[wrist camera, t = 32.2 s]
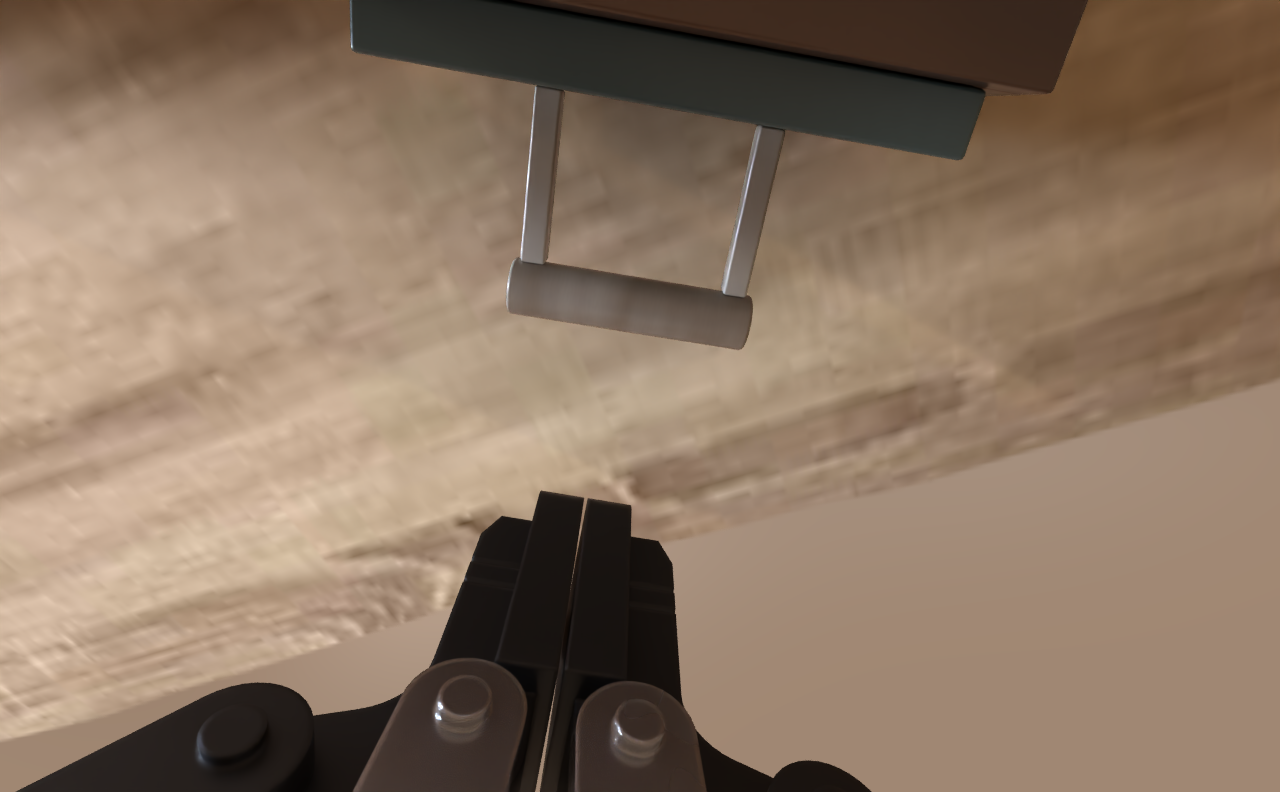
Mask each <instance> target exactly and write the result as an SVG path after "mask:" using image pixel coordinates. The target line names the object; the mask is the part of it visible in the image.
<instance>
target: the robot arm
mask: <svg viewBox="0 0 1280 792" xmlns="http://www.w3.org/2000/svg"><path fill="white" fill-rule="evenodd" d="M583 502H584V498H583V497H577V496H571V495H565V494H558V493H552V492H546V491H540V494H539V498H538V501H537V505H536V509H535V512H534V516H533V520H532V521H530V520H524V519H517V518H511V517H505V516H501V517H500V518H499V519H498V520H497V521H495V522H494V523H493V524H492V525H491V526H490V527H488V528H487V529H486V530H485V531H484V532H483V533H481V536H480V538H479V541H478V543H477V546H476V549H475V551H474V554H473V557H472V561H471V562H470V564H469V567H468V570H467V572H466V575H465V579H464V582H463V583H462V585H461V588H460V591H459V593H458V596H457V599H456V601H455V604H454V606H453V609H452V612H451V614H450V617H449V620H448V622H447V625H446V628H445V630H444V633H443V635H442V638H441V641H440V643H439V646H438V649H437V651H436V654H435V656H434V659H433V661H432V663H431V665H430V667H429V668H428V669H426V670H425V671H423V672H422V673H420V674H419V675H418V676H417V677H415V678H414V679H413V680H412V682H411V683H410V684H409V685H408V686H407V687H406V689H405V691H404V692H403V693H402V694H400V695H399V696H397V697H395V698H393V699H391V700H388V701H386V702H384V703H381V704H378V705H374V706H371V707H366V708H361V709H356V710H350V711H342V712H335V713H328V714H322V715H316V716H313V714H312V710H311V708H310V706H309V705H308V703H307V701H306V700H305V699H304V698H303V697H302V696H301V695H300V694H299V693H297V692H295V691H294V690H292V689H290V688H287V687H284V686H281V685H277V684H272V683H248V684H241V685H236V686H231V687H228V688H225V689H222V690H219V691H216V692H214V693H211V694H209V695H207V696H205V697H203V698H201V699H199V700H197V701H195V702H193V703H191V704H189V705H187V706H185V707H183V708H181V709H179V710H177V711H175V712H173V713H171V714H169V715H167V716H165V717H163V718H161V719H159V720H157V721H155V722H153V723H151V724H149V725H147V726H145V727H143V728H141V729H139V730H137V731H135V732H133V733H131V734H129V735H127V736H125V737H123V738H121V739H119V740H117V741H115V742H113V743H111V744H109V745H107V746H105V747H103V748H102V749H100V750H98V751H95V752H94V753H91V754H90V755H88V756H86V757H84V758H82V759H80V760H78V761H76V762H74V763H72V764H70V765H68V766H66V767H64V768H62V769H60V770H58V771H56V772H54V773H52V774H50V775H48V776H46V777H44V778H42V779H40V780H38V781H36V782H34V783H32V784H30V785H28V786H26V787H24V788H22V789H20V790H18V791H17V792H535V789H536V784H537V778H538V774H539V768H540V763H541V758H542V753H543V747H544V742H545V736H546V732H547V727H548V721H549V716H550V711H551V706H552V701H553V696H554V702H553V708H552V715H551V721H550V728H549V735H548V741H547V748H546V755H545V761H544V768H543V774H542V782H541V788H540V792H871V791H870V790H869V789H868V788H867V787H866V786H865V785H863V784H862V783H861V782H860V781H859V780H857V779H856V778H855V777H853V776H852V775H850V774H849V773H847V772H845V771H843V770H842V769H840V768H837V767H835V766H832V765H830V764H827V763H823V762H819V761H798V762H795V763H791V764H789V765H787V766H785V767H784V768H782V769H781V770H780V771H779V772H778V773H777V774H776V775H775V777H774V778H772V777H769V776H768V775H765V774H763V773H761V772H759V771H757V770H754V769H753V768H750V767H748V766H746V765H744V764H742V763H739V762H737V761H735V760H733V759H731V758H729V757H727V756H726V755H724V754H722V753H721V752H719V751H718V750H717V749H715V748H714V747H712V746H711V745H710V744H709V743H708V742H707V741H706V740H705V739H704V738H703V737H702V736H701V735H700V734H699V733H698V732H697V731H696V729H695V726H694V724H693V722H692V719H691V717H690V716H689V714H688V713H687V711H686V710H685V708H684V706H683V703H682V697H681V684H680V670H679V656H678V640H677V626H676V614H675V596H674V593H673V590H674V581H673V566H672V562H671V561H670V560H669V558H668V556H667V554H666V553H665V551H664V550H663V548H662V546H661V545H660V543H659V541H655V540H649V539H642V538H636V537H631V505H626V504H620V503H614V502H608V501H602V500H596V499H590V498H588V500H587V505H586V510H585V515H584V520H583V525H582V531H581V536H580V541H579V547H578V552H577V557H576V562H575V556H576V549H577V542H578V536H579V529H580V522H581V516H582V509H583ZM574 562H575V568H574ZM573 569H574V573H573ZM572 576H573V578H572ZM571 583H572V584H571ZM570 589H571V590H570ZM556 680H557V681H556ZM555 685H556V688H555ZM554 690H555V694H554Z"/></svg>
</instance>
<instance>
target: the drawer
mask: <svg viewBox="0 0 1280 792" xmlns="http://www.w3.org/2000/svg"><path fill="white" fill-rule="evenodd" d="M350 38H351V49H352V51H354V52H356V53H359V54H365V55H370V56H376V57H381V58H387V59H393V60H398V61H404V62H409V63H415V64H421V65H426V66H432V67H437V68H443V69H449V70H454V71H460V72H465V73H471V74H477V75H482V76H488V77H493V78H499V79H505V80H510V81H516V82H521V83H527V84H532V85H537V86H536V87H535V93H534V105H533V116H532V128H531V140H530V151H529V163H528V175H527V186H526V198H525V210H524V221H523V233H522V245H521V257H520V258H519V257H518V258H515V259H514V261H513V263H512V265H511V268H510V272H509V277H508V283H507V292H506V305H507V310H508V312H509V313H512V314H518V315H524V316H530V317H537V318H543V319H549V320H555V321H561V322H568V323H574V324H580V325H586V326H593V327H599V328H605V329H611V330H618V331H624V332H630V333H636V334H642V335H649V336H655V337H661V338H667V339H674V340H680V341H686V342H692V343H699V344H705V345H711V346H717V347H723V348H730V349H736V350H740V349H742V348H743V347H744V345H745V343H746V341H747V338H748V335H749V331H750V326H751V321H752V312H753V303H752V298H751V297H750V296H748V295H747V291H748V287H749V283H750V279H751V275H752V270H753V266H754V262H755V258H756V253H757V249H758V245H759V241H760V237H761V232H762V228H763V224H764V220H765V216H766V211H767V207H768V203H769V199H770V194H771V190H772V186H773V182H774V178H775V173H776V169H777V165H778V161H779V157H780V152H781V148H782V144H783V140H784V135H785V130H790V131H795V132H801V133H807V134H812V135H818V136H823V137H829V138H835V139H840V140H846V141H851V142H857V143H863V144H868V145H874V146H879V147H885V148H891V149H896V150H902V151H907V152H913V153H919V154H924V155H930V156H935V157H941V158H947V159H952V160H961V159H963V157H964V156H965V153H966V150H967V147H968V144H969V141H970V138H971V136H972V133H973V130H974V127H975V124H976V121H977V118H978V115H979V113H980V110H981V107H982V104H983V101H984V98H985V95H986V92H985V91H984V90H983V89H981V88H975V87H970V86H964V85H959V84H954V83H948V82H943V81H937V80H932V79H927V78H921V77H916V76H910V75H905V74H899V73H894V72H889V71H883V70H878V69H872V68H867V67H862V66H856V65H851V64H845V63H840V62H835V61H829V60H824V59H818V58H813V57H808V56H802V55H797V54H791V53H786V52H781V51H775V50H770V49H764V48H759V47H753V46H748V45H743V44H737V43H732V42H726V41H721V40H716V39H710V38H705V37H699V36H694V35H689V34H683V33H678V32H672V31H667V30H662V29H656V28H651V27H645V26H640V25H634V24H629V23H624V22H618V21H613V20H607V19H602V18H597V17H591V16H586V15H580V14H575V13H570V12H564V11H559V10H553V9H548V8H543V7H537V6H532V5H526V4H521V3H516V2H510V1H505V0H350ZM564 90H566V91H572V92H577V93H583V94H588V95H594V96H600V97H605V98H611V99H616V100H622V101H628V102H633V103H639V104H644V105H650V106H656V107H661V108H667V109H672V110H678V111H684V112H689V113H695V114H700V115H706V116H712V117H717V118H723V119H728V120H734V121H740V122H745V123H751V124H756V125H757V127H756V129H755V134H754V138H753V143H752V147H751V152H750V156H749V161H748V166H747V170H746V175H745V179H744V184H743V188H742V193H741V197H740V202H739V207H738V211H737V216H736V220H735V225H734V229H733V234H732V239H731V243H730V248H729V252H728V257H727V261H726V266H725V270H724V275H723V280H722V284H721V289H722V291H719V290H713V289H707V288H701V287H695V286H689V285H683V284H676V283H670V282H664V281H658V280H652V279H646V278H640V277H634V276H628V275H622V274H616V273H610V272H604V271H598V270H592V269H586V268H579V267H573V266H567V265H561V264H555V263H549V262H546V260H547V259H548V252H549V242H550V233H551V223H552V213H553V204H554V194H555V184H556V175H557V165H558V155H559V146H560V136H561V126H562V117H563V107H564V97H565V92H564ZM783 129H784V130H783Z"/></svg>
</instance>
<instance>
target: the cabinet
mask: <svg viewBox="0 0 1280 792" xmlns="http://www.w3.org/2000/svg"><path fill="white" fill-rule="evenodd" d="M505 1H510V2H516V3H521V4H526V5H532V6H537V7H543V8H548V9H553V10H559V11H564V12H570V13H575V14H580V15H586V16H591V17H597V18H602V19H607V20H613V21H618V22H624V23H629V24H634V25H640V26H645V27H651V28H656V29H662V30H667V31H672V32H678V33H683V34H689V35H694V36H699V37H705V38H710V39H716V40H721V41H726V42H732V43H737V44H743V45H748V46H753V47H759V48H764V49H770V50H775V51H781V52H786V53H791V54H797V55H802V56H808V57H813V58H818V59H824V60H829V61H835V62H840V63H845V64H851V65H856V66H862V67H867V68H872V69H878V70H883V71H889V72H894V73H899V74H905V75H910V76H916V77H921V78H927V79H932V80H937V81H943V82H948V83H954V84H959V85H964V86H970V87H975V88H981V89H983V90H984V91H985V92H986V95H985V96H1004V95H1032V94H1049V93H1051V92H1052V91H1053V89H1054V87H1055V84H1056V82H1057V79H1058V77H1059V74H1060V71H1061V69H1062V66H1063V64H1064V61H1065V59H1066V56H1067V53H1068V51H1069V48H1070V46H1071V43H1072V41H1073V38H1074V35H1075V33H1076V30H1077V28H1078V25H1079V22H1080V20H1081V17H1082V15H1083V12H1084V10H1085V7H1086V4H1087V2H1088V0H505Z"/></svg>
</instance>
